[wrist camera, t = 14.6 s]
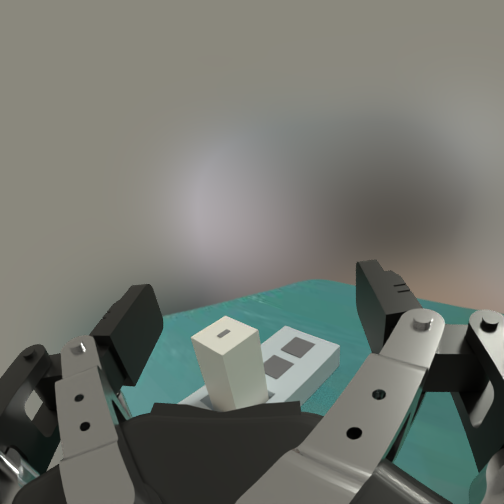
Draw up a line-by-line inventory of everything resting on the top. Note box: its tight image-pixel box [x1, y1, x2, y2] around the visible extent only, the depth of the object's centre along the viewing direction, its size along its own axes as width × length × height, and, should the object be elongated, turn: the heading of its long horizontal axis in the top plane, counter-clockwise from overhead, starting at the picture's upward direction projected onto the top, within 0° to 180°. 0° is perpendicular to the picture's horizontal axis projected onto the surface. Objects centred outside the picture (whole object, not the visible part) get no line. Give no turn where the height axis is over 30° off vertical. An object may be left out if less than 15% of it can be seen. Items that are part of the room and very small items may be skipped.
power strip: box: [178, 326, 340, 411], centre depth 35 cm, size 20×9×4 cm, turn 136°
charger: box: [191, 316, 269, 412], centre depth 30 cm, size 4×4×12 cm
